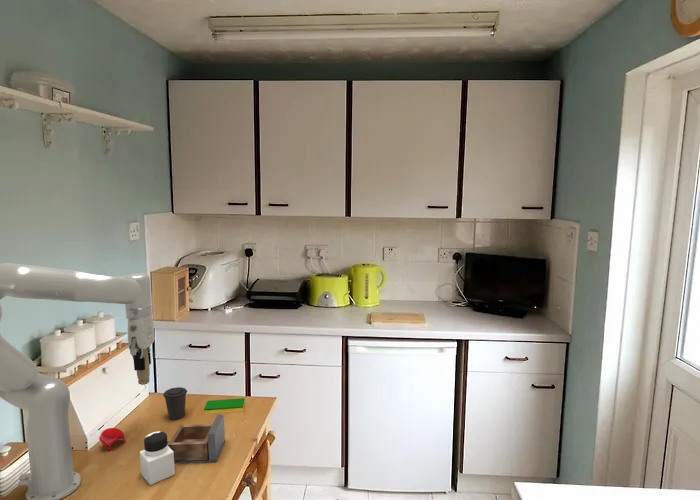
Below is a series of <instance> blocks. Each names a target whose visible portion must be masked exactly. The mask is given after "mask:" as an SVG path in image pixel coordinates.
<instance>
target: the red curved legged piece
mask: <svg viewBox="0 0 700 500" xmlns="http://www.w3.org/2000/svg"><path fill="white" fill-rule="evenodd" d="M98 440H99V441H100V443H102V446H104V447H105V448H106V449H107V450H108V451H109V452H110V451H113V448H112V445H114V443H116V442H117V441H118V440H121V441H123V442H124V443H126V441H127V440H126V439H125V433H124V432H123V431H122V430H121V429H120V428H116V427H108V428H105V429H104V430H102V432H101V433H100V435H99V437H98Z"/></svg>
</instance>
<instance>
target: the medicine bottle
mask: <svg viewBox="0 0 700 500" xmlns="http://www.w3.org/2000/svg"><path fill="white" fill-rule="evenodd" d="M167 441H168V434H167V433H166V432H165V431H159V430H158V431H153V432H151V433H149V434H147V435H146V436H145V437H144V439H143V445H144V447H143V448H144V449H142V450H140V451H139V465H140V474H141V476H142V477H143V478H144V479H145V481H146V482H147V483H148V485H150V486H152V485H155V484H156V483H159V482H161V481H164V480H165V479H168V478H170V477H172V476H175V474H176V464H175V463H174V452H173V451H172V450H171V449H170V448H169V447H168V442H167Z"/></svg>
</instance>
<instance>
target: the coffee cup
mask: <svg viewBox="0 0 700 500" xmlns="http://www.w3.org/2000/svg"><path fill="white" fill-rule="evenodd" d="M187 394H188V390H187V389H186V387H181V386H180V387H179V386H178V387H171V388H169V389H166V390H165V391H164V393H163V394H162V395H163V397H164V399H165V404H166V409H167V415H168V419H169V420H170V421H177V420H182V419H183V418H184V417H185V414H186V401H187V400H186V398H187Z"/></svg>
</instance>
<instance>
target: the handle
mask: <svg viewBox="0 0 700 500" xmlns="http://www.w3.org/2000/svg"><path fill="white" fill-rule="evenodd" d="M137 348H139V347H137ZM137 352H139V353H140V351H137ZM143 358H145V370H136V375H137V377H136V378H137V381H138V385H141V386H144V385H147V384H148V383H150V379H151V378H150V374H151V372H150V371H151V370H150V365H149V358H148V350H147V348H146V349H144V350H143Z"/></svg>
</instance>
